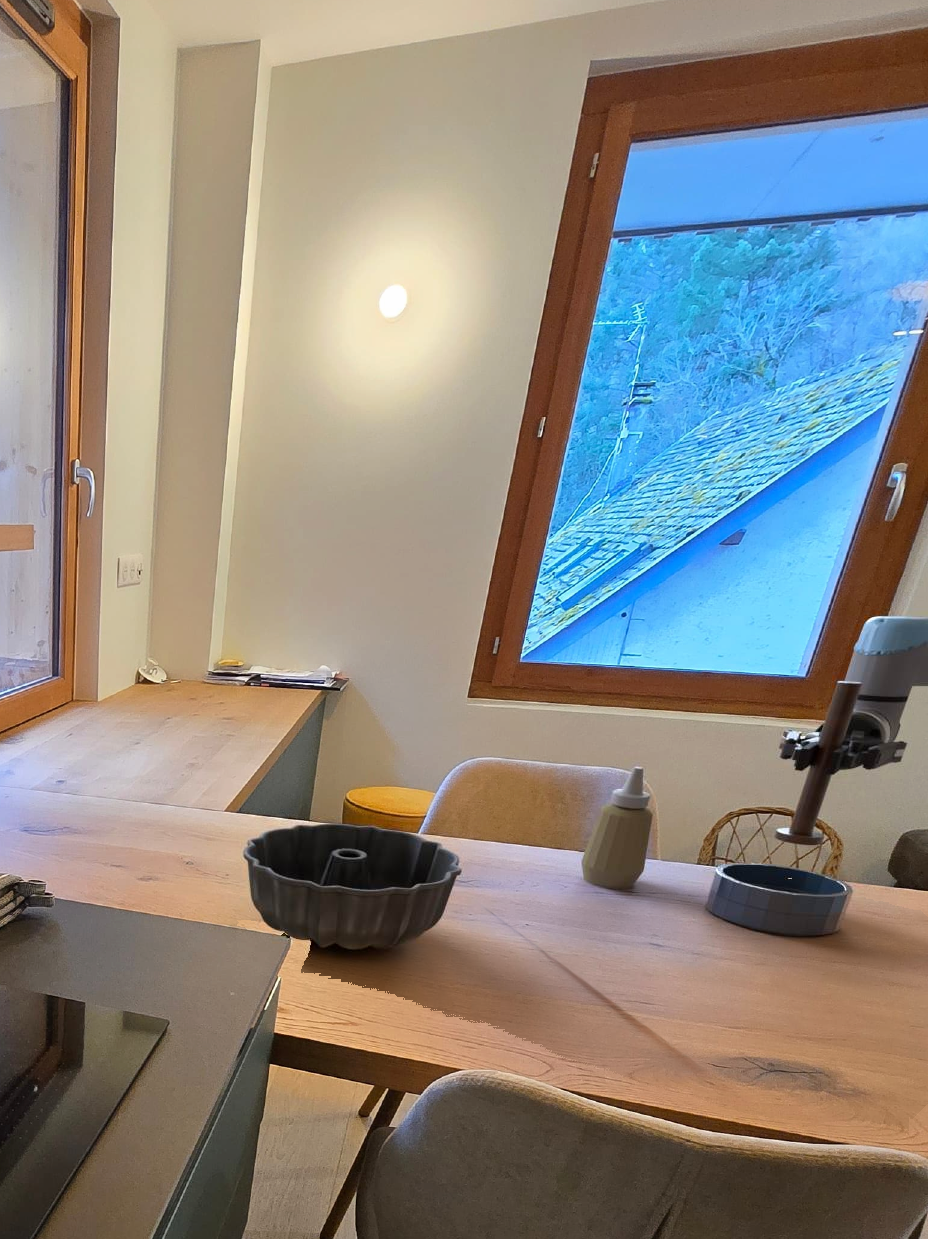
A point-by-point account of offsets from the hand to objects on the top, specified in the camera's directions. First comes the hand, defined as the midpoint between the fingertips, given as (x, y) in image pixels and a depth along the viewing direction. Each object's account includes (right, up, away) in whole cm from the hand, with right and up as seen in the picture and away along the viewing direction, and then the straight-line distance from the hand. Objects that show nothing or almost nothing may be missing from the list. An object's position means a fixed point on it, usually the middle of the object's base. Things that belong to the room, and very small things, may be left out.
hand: (817, 761), depth 117 cm
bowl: (+3, -19, +12) cm, 23 cm away
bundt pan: (-56, -20, +9) cm, 60 cm away
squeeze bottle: (-11, -14, +24) cm, 30 cm away
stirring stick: (+4, -9, +8) cm, 12 cm away
